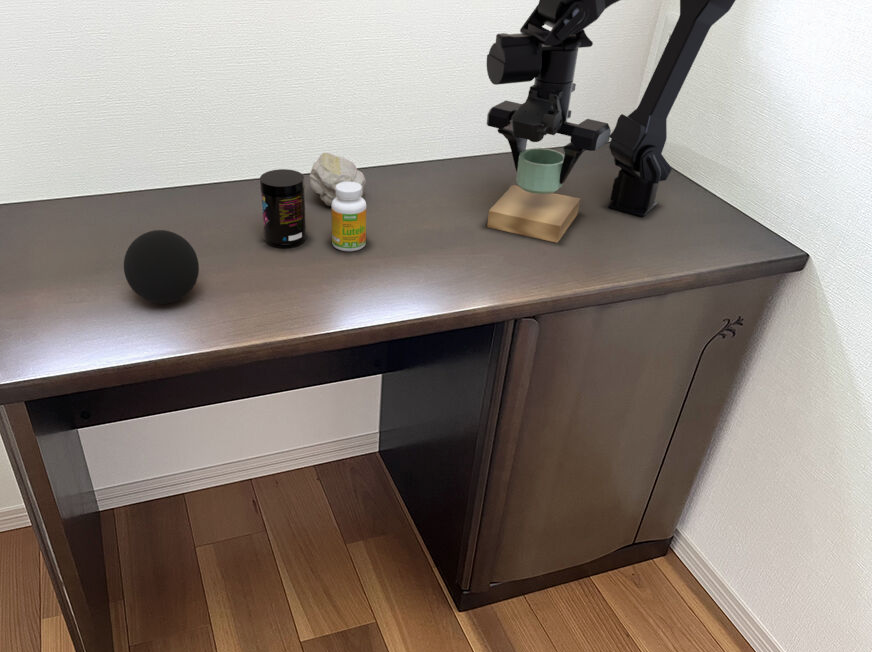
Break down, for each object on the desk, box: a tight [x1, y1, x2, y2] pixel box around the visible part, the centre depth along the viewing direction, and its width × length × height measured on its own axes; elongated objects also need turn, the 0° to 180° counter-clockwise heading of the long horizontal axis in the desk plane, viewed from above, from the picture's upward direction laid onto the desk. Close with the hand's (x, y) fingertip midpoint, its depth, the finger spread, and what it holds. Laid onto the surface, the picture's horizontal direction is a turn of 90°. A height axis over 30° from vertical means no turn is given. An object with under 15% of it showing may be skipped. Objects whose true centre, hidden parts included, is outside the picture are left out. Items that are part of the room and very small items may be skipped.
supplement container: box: [259, 168, 307, 249], centre depth 124 cm, size 7×7×10 cm
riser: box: [486, 184, 581, 244], centre depth 133 cm, size 12×12×3 cm
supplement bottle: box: [330, 182, 367, 252], centre depth 124 cm, size 5×5×10 cm
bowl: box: [515, 147, 565, 194], centre depth 129 cm, size 7×7×5 cm
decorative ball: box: [123, 229, 200, 305], centre depth 110 cm, size 10×10×10 cm
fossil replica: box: [309, 152, 367, 207], centre depth 137 cm, size 12×8×10 cm
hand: (539, 177), depth 130 cm, fingers closed on bowl, 7 cm apart
